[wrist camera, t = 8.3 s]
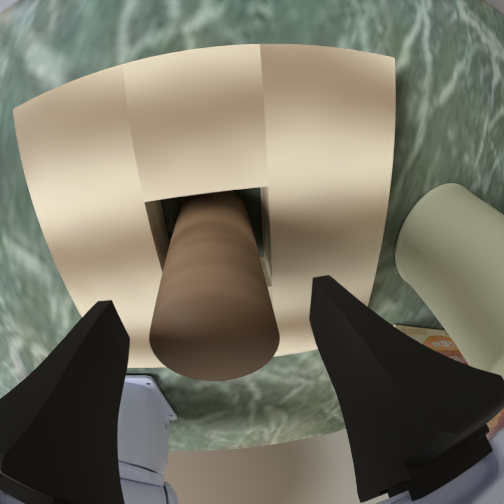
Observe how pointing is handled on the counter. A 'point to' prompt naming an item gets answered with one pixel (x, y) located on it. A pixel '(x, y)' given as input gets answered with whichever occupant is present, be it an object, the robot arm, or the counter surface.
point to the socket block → (215, 171)
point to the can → (458, 269)
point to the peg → (213, 294)
